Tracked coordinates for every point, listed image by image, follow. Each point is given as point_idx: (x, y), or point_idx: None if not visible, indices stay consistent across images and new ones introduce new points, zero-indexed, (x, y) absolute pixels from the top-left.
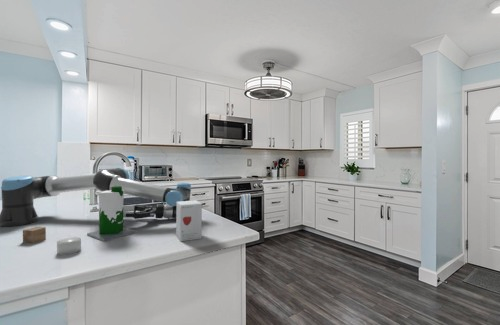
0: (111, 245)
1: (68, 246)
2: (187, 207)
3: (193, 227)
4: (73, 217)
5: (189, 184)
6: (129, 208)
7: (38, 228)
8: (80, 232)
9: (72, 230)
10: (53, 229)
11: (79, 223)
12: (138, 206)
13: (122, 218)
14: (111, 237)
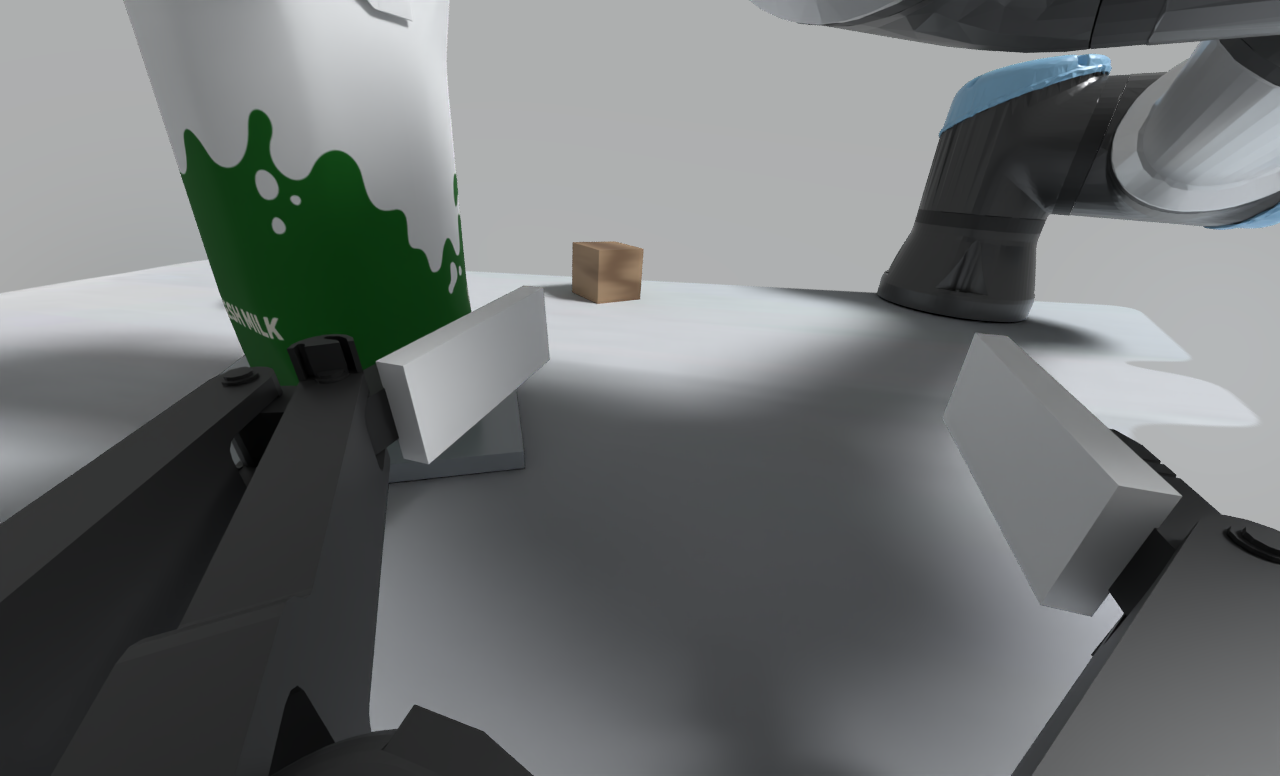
0: (116, 360)
1: None
2: None
3: None
4: (1080, 379)
5: None
6: (1019, 469)
7: (597, 246)
8: (607, 347)
9: (685, 341)
10: (759, 323)
11: (863, 371)
12: (1153, 600)
13: (231, 284)
14: (231, 365)
